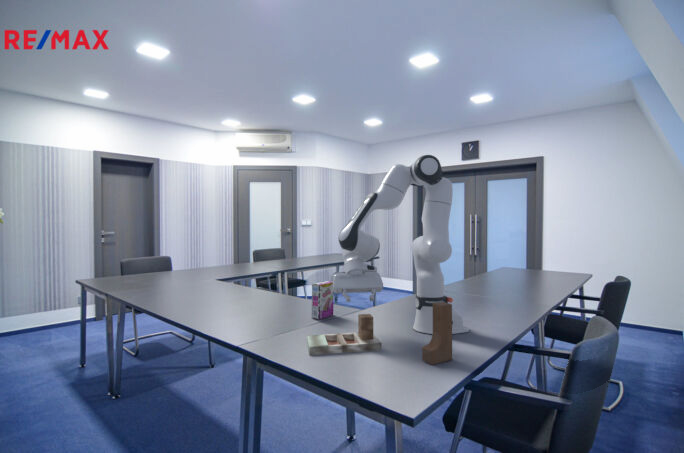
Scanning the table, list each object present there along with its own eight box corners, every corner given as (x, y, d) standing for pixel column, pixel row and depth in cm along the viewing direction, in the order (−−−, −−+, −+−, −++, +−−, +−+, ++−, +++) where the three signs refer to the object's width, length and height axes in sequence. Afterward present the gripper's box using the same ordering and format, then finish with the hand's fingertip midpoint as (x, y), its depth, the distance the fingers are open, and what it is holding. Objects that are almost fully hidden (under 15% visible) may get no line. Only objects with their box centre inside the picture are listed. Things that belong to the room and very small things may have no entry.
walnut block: (370, 335, 127) (370, 313, 127) (373, 339, 123) (373, 317, 123) (358, 336, 127) (358, 314, 127) (361, 340, 122) (361, 317, 122)
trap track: (372, 338, 132) (371, 331, 132) (381, 350, 119) (381, 342, 119) (306, 342, 128) (306, 335, 128) (309, 355, 115) (309, 347, 115)
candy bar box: (319, 320, 158) (319, 284, 158) (311, 318, 161) (311, 283, 161) (334, 315, 167) (334, 281, 167) (326, 313, 170) (326, 280, 170)
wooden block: (431, 365, 106) (431, 307, 106) (421, 360, 110) (421, 304, 110) (452, 360, 110) (452, 304, 110) (442, 355, 114) (442, 301, 114)
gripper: (331, 267, 138) (334, 296, 129) (380, 266, 142) (387, 295, 132) (329, 277, 143) (333, 305, 133) (377, 276, 146) (383, 304, 137)
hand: (360, 300), depth 133 cm, fingers open, 8 cm apart
